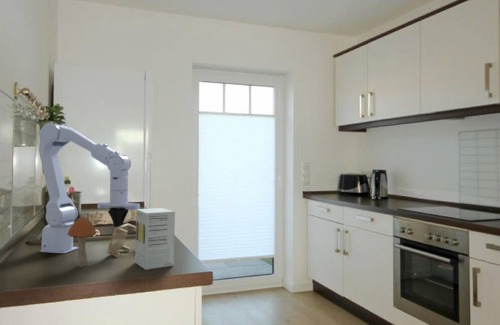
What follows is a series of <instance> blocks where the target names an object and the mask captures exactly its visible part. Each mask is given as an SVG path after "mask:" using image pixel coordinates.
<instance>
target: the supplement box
mask: <svg viewBox="0 0 500 325" xmlns="http://www.w3.org/2000/svg"><path fill="white" fill-rule="evenodd" d="M135 211H136V213H135V214H136V216H135V217H136V218H135V219H136V220H135V223H136V224H135V226H136V231H135V251H134V252H135V253H134V255H135V257H134V261H135V264H137V265H138V266H139V267H141V268H143V270H145V271H147V270H153V269H159V268H166V267H173V266H174V265H175V264H174V263H175V262H174V259H175V228H176V226H175V224H176V223H175V222H176V212H175V211H174V210H169V209H166V208H164V207H159V208H158V207H157V208H140V209H137V210H135Z"/></svg>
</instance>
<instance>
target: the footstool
mask: <svg viewBox="0 0 500 325" xmlns="http://www.w3.org/2000/svg"><path fill="white" fill-rule="evenodd" d="M129 230H132V231H134V232H136V225H133V224H131V223H128V222H127V223H125V224H124V223H123V225H121V226H118V227H115V228H114V230H113V233H112V235H111V236H112V237H111V239H110V241H109V244H108V247H107V251H106V254H109V255H111V256H114V257H115V258H116V257H117V258H120V255H121V252H120V250H123V251H125V252H127V253H129V252H131V249H132V248H131V247H130V246H127V245H124V244H125V242H126V238H127V236H128V233H129Z"/></svg>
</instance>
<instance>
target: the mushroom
mask: <svg viewBox="0 0 500 325" xmlns="http://www.w3.org/2000/svg"><path fill="white" fill-rule="evenodd" d="M68 235H69V236H71V237H73V238H76V239H77V247H78V249H77V255H76V266H77V267H78V268H83V267H86V266H87V264H88V255H87V251H86V238H90V237H93V236H95V235H97V230H96V229H95V226H94V224H93V223H92V222H91V221H90V220H89V219H88V218H87V217H84V216H81V217H79V218H78V219H76V220H75V221H74V224H73V225H72V226H71V228H70V229H69V231H68Z"/></svg>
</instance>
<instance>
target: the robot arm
mask: <svg viewBox="0 0 500 325" xmlns="http://www.w3.org/2000/svg"><path fill="white" fill-rule="evenodd" d="M38 135H39V138H40V139H39V146H38V153H39V157H40V162H41V166H42V170H43V171H42V172H43V175H44V179H45V184H46V187H47V191H48V192H47V194H48V196H49V201H48V202H47V204H46V205H45V209H46V213H45V220H46V222H47V224H46V225H44V227H43V229H42V232H41V249H40V250H39V253H53V254H66V253H69V252H72V251H75V250H78V246H74V237H71V236H69V235H68V231H69V229H70V228H71V226H72V225H73V224H74V222H75V221H76V220H77V218H78V214H79V212H78V209H77V207H76V206H75V204H74V202H73V199H72V198H70V197H69V196H68V193H67V189H66V185H65V184H66V183H65V180H64V177H63V172H62V168H61V163H60V160H59V156H58V153H59V152H60V150H61V149H63V147H65V146H66V145H68V144H69V143H70V142H72V143H74V144H75V145H78V146H79V147H81V148H83V149H85V150H86V151H88V152H90V154H91V155H90V156H91V157H92V158H93V159H95V160H96V161H98V162H99V163H101V164H102V165H104V166H106V167H107V169H108V171H109V176H110V178H109V180H110V182H109V183H110V184H109V202H106V201H105V202H104V201H103V202H102V201H100V202H97V209H109V210H108V211H107V212H108V214H109V216H110V218H111V221H112V223H113V227H114V229H115V227H118V226H121V225H124V222H125V219H126V217H127V215H128V213H129V210H134V211H136V210H137V209H141V204H140V203H135V202H128V197H129V196H128V192H129V191H128V189H129V188H128V187H129V170H130V168H131V167H132V161H131V159H130V158H129V157H128V156H127V155H126V154H121V155H120V152H119V151H118V150H114V149H112V148H111V147H109V144H107V143H101V142H100V143H96V142H94V141H93V140H91V139H89V138H88V137H86V136H85V135H84V134H82V133H80V132H79V131H78V130H76V129H75V128H73V127H70V126H68V125H62V124H57V123H53V122H52V123H51V122H48V123H45V124H44V125H43V126H42V127H41V129H40V130H39V132H38Z"/></svg>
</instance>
